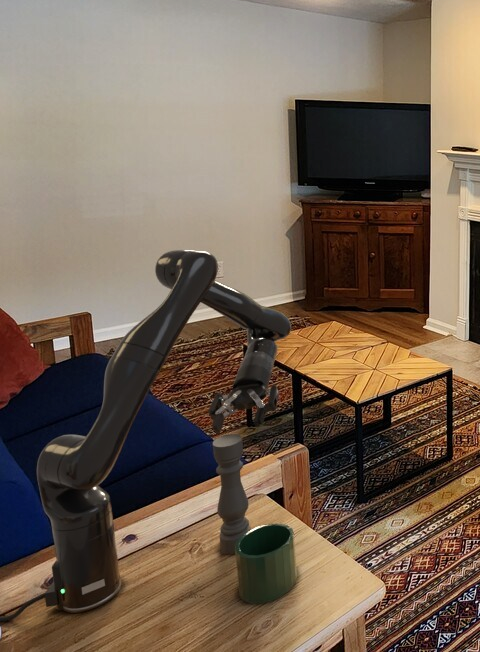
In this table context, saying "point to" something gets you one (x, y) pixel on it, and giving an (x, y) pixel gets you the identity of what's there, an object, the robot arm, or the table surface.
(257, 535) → the pot
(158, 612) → the table surface
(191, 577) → the table surface
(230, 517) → the candle holder
